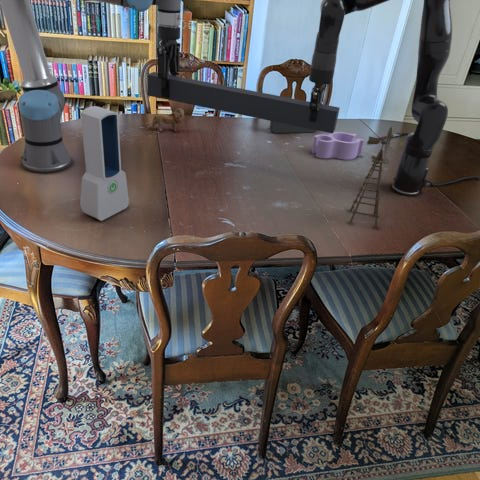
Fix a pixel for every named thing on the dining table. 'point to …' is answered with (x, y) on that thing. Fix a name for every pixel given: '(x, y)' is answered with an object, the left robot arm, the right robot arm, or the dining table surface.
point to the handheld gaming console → (287, 128)
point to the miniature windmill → (377, 160)
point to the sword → (391, 136)
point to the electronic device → (102, 165)
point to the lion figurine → (169, 119)
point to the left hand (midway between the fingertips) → (168, 95)
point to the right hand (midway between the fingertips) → (314, 118)
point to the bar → (244, 102)
